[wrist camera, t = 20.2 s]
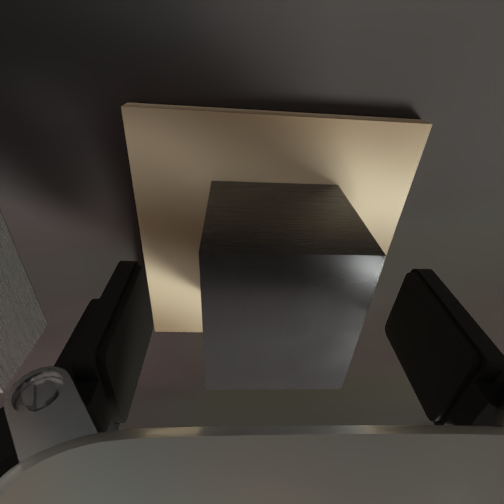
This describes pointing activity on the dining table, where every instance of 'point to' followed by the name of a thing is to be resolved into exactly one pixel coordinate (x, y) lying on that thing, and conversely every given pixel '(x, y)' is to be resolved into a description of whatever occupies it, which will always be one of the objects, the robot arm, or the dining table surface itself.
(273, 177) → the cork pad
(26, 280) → the plane body
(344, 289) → the dark grey block
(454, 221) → the dining table surface
